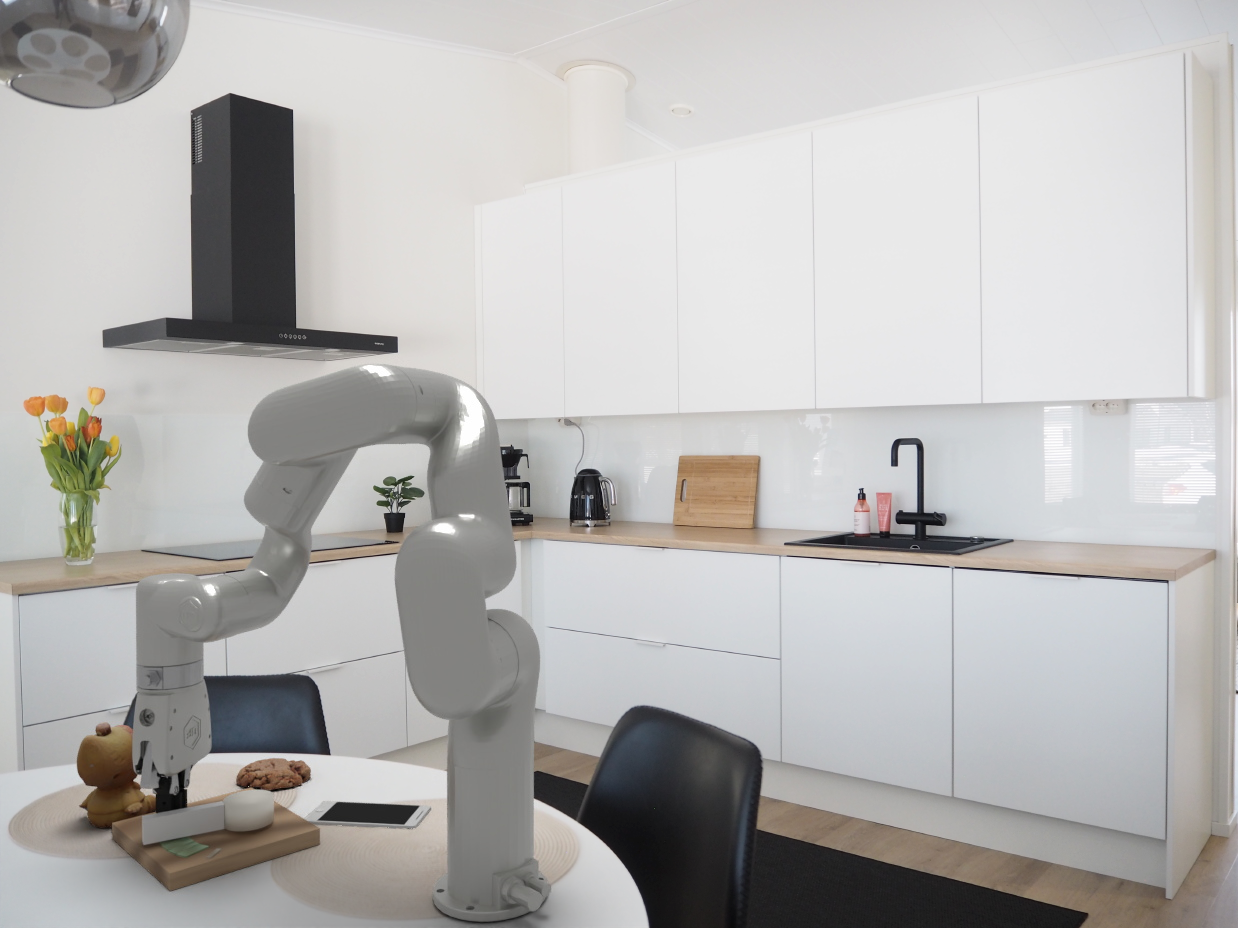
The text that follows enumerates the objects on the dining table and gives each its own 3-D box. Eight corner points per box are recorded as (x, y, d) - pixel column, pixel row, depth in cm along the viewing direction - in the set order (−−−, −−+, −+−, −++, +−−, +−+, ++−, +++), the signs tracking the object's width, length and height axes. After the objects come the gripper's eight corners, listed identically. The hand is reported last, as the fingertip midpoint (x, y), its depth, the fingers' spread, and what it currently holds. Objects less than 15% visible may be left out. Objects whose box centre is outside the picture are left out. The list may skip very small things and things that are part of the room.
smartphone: (324, 806, 134) (323, 799, 134) (431, 811, 132) (431, 804, 132) (301, 826, 127) (301, 819, 127) (415, 832, 125) (415, 825, 125)
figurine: (172, 809, 131) (152, 711, 127) (132, 844, 124) (109, 741, 120) (112, 802, 134) (91, 706, 130) (70, 835, 127) (46, 735, 123)
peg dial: (268, 809, 125) (268, 786, 125) (278, 824, 120) (278, 800, 120) (140, 833, 117) (139, 809, 117) (145, 851, 112) (145, 826, 112)
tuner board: (319, 843, 120) (319, 826, 120) (170, 890, 107) (169, 871, 107) (251, 801, 134) (251, 785, 134) (112, 838, 122) (112, 821, 122)
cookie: (242, 773, 147) (242, 754, 147) (314, 768, 149) (314, 749, 149) (229, 797, 137) (229, 776, 137) (307, 791, 139) (307, 771, 139)
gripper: (162, 691, 110) (164, 849, 111) (230, 662, 125) (231, 801, 126) (102, 689, 111) (103, 846, 112) (177, 660, 126) (178, 799, 126)
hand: (171, 822), depth 119 cm, fingers closed
